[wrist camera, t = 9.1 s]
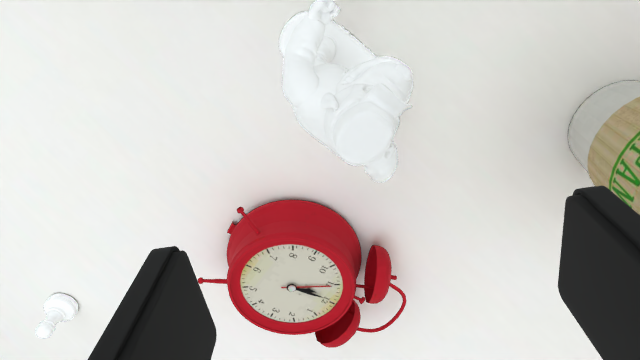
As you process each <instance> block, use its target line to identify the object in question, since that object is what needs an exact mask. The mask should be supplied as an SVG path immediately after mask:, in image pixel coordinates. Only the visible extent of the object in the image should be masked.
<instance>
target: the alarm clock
mask: <svg viewBox="0 0 640 360" xmlns="http://www.w3.org/2000/svg"><path fill="white" fill-rule="evenodd" d="M243 211H244V209H243V207H239V208H238V209H237V212H238V213H241V214H242V215H243V218H242V219H241V220H240V221H239V223H238V224H237V225H234V224H233V222H232V224H231V226H230V228H229V229H228V232H227V233H229V234H231V236H230V239H229V243H228V247H227V261H228V266H229V270H228V274H227V279H203V278H199V279H198V283H199V284H202V283H203V282H209V283H223V284H227V285H228V291H229V296H230V298H231V301H232V303H233V304H234V306H235V307H236V309H237V310H238V311H239V313H240V314H241V315H242V316H243V317H245V318H246V319H247V320H248V321H250V322H251V323H253V324H255V325H256V326H258V327H260V328H263V329H265V330H268V331H271V332H275V333H280V334H289V335H298V334H307V333H312V332H315V335H316V338H317V341H319V342H320V343H321V344H322V345H324V346H326V347H338V346H341V345H343V344H344V343H346V342H347V341H348V340H349V339H350V338H351V337H352V336H353V335H354V334H355V332H356V330H357V331H362V332H378V331H381V330H383V329H385V328H387V327H388V326H389V325H391V324H392V323H393V322H394V321H395V320H396V319H397V318H398V317H399V315H400V314H401V313H402V311H403V309H404V307H405V305H406V296H405V294H404V293H403V291H402V290H401V289H399V288H398V287H396V286H395V285H393V284H392V283H390V279H394V280H396V279H397V276H393V275H391V261H390V257H389V254H388V252H387V251H386V250H385V249H384V248H383V247H380V246H376V245H373V246H372V247H371V249H370V251H369V255H368V258H367V263H366V269H365V278H364V285H358V284H356V278H357V276H358V273H359V270H360V266H361V248H360V244H359V240H358V238H357V236H356V233H355V232H354V230H353V229H352V227H351V226H350V225H349V224H348V222H347V221H346V220H345V219H344V218H342V217H341V216H340V215H339V214H337V213H336V212H334V211H333V210H331V209H329V208H327V207H325V206H322V205H320V204H317V203H313V202H309V201H302V200H281V201H276V202H271V203H268V204H265V205H262V206H260V207H258V208H256V209H254V210H252V211H251V212H249V213H248V214H247V215H246V214H245V213H244V212H243ZM389 286H390V287H392V288H393V289H395V290H396V291H398V292H399V293H400V294H401V295H402V298H403V303H402V306H401V308H400V310H399V311H398V312H397V314H396V315H395V316H394V317H393V318H392V319H391V320H390V321H389V322H388V323H387V324H385V325H383V326H381V327H379V328H375V329H364V328H358V326H359V323H360V310H359V307H358V305H357V303H356V302H355V301H354V300H353V298H354V299H357V300H359V302H360V303H361V304H362V303H363V302H364V301H365V298H366V302H367V303H372V304H374V303H378V302H381V301H382V300H383V299H384V298H385V296H386V294H387V292H388V289H389ZM356 287H359V288H364V290H365V298H364V297H362V298H359V297H357V296H354V295H355V291H356Z"/></svg>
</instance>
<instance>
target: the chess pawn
mask: <svg viewBox="0 0 640 360" xmlns="http://www.w3.org/2000/svg"><path fill="white" fill-rule="evenodd" d="M43 308H44V311H45V313H46V319H45V320H43V321H41V322H40V323H39V325H38V326H37V327H36V329H35V334H36V336H37V337H39V338H41V339H45V338H48V337H50V336H51V335H52V333H53V331H55V329H56V326H55V325H56V324H57V323H59V322H66V321H69V320H71V319H72V318H73V317H74V316H75V315H76V313H77V312H78V309H79V307H78V304H77V302H76V301H75V300H74V299H73V298H72V297H70V296H68V295H66V294H53V295H51V296H50V297H49V298H48V300H47V301H46V302H45V304H44V307H43Z"/></svg>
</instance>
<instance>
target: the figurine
mask: <svg viewBox="0 0 640 360" xmlns="http://www.w3.org/2000/svg"><path fill="white" fill-rule="evenodd" d="M340 10H341V8H340V7H339V6H337V5H336V2H335V1H333V0H316V1H315V3H312V4H311V6H310V8H309V11H305V12H300V13H298V14H296V15H294V16H293V17H292V18H291V19H290V20H289V21H288V22H287V24H286V25H285V26H284V28H283V30H282V32H281V34H280V37H279V49H280V52H281V55H282V57H283V69H282V72H283V74H282V89H283V93H284V95H285V98H286V99H287V101H288V102H289V103H290V104H292V108H293V110H294V113H295V116H296V119H297V121H298V122H299V124H300V125H301V127H302V128H303V129H304V130H306V131H307V132H308V133H309V134H310V135H311V136H312V137H314V138H315V139H316V140H318V141H319V142H320V143H322V144H323V145H324V146H326V147H327V148H328V149H329V150H330V151H331V152H332V153H334V154H335V155H337V156H339V157H340V158H341V159H342V160H343V161H344V162H346V163H347V164H349V165H352V166H362V165H364V171H365V172H366V174H367V175H368V176H369V177H370V178H371V179H372V180H373V181H375V182H377V183H383V182H386V181H387V180H389V179H390V178H391V177H392V176H393V174H394V172H395V170H396V168H397V164H398V152H397V147H396V145H395V143H394V141H393V138H394V135H395V133H396V131H397V129H398V126H399V121H400V118H399V116H400V115H402V113H403V112H404V111H405V110H407V109H410V108H412V105H411V104H408V102H409V99H410V96H411V93H412V89H413V73H412V70H411V68H410V67H409V66H408V65H406V64H405V63H403V62H402V61H400V60H399V59H397V58H394V57H390V56H380V57H378V56H376V55H375V54H374V53H371V50H369V49H368V48H366V46H365V45H364V44H363V43H362V44H361V42H360V41H359V40H358V39H356V37H354V36H353V35H351V34H350V32H349V31H348V30H345V28H344V27H343V26H340V25H338V24H337V23H336V22H334V21H333V20H332V19H333V17H335V16H337V15H338V14H339V12H340Z"/></svg>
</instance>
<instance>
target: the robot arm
mask: <svg viewBox="0 0 640 360" xmlns="http://www.w3.org/2000/svg"><path fill="white" fill-rule="evenodd" d="M558 288H559V293H560V296H561V298H562V300H563V301H564V303H565V304H566V306H567V307H568V309H569V310H570V312H571V313H572V315H573V316H574V317H575V319H576V320H577V322H578V323H579V325H580V326H581V328H582V329H583V331H584V332H585V334H586V335H587V337H588V338H589V340H590V341H591V343H592V344H593V345H594V347H595V348H596V350H597V351H598V353H599V354H600V356H601V357H602V359H603V360H640V215H639V214H638V213H637V212H635V211H634V210H633V209H632V208H631V207H629V206H628V205H627V204H626V203H625V202H624V201H622V200H621V199H620V198H619V197H618V196H616V195H615V194H614V193H613V192H612V191H610V190H609V189H608V188H607V187H605V186H594V187H587V188H580V189H576V190H575V191H574V193H573V196H569V197H567V199H566V203H565V214H564V225H563V236H562V247H561V257H560V268H559V279H558ZM215 342H216V328H215V325H214V322H213V320H212V317H211V315H210V312H209V309H208V307H207V304H206V302H205V299H204V297H203V294H202V291H201V289H200V286H199V284H198V281H197V279H196V276H195V274H194V271H193V268H192V266H191V263H190V261H189V258H188V256H187V254H186V252H185V251H180V250H179V249H178V248H177V247H175V246H173V247H166V248H159V249H153V250H152V251H151V252H150V254H149V255H148V257H147V259H146V260H145V262H144V264H143V266H142V267H141V269H140V271H139V272H138V274H137V276H136V278H135V279H134V281H133V283H132V284H131V286H130V288H129V290H128V291H127V293H126V295H125V296H124V298H123V300H122V302H121V303H120V305H119V307H118V309H117V310H116V312H115V314H114V315H113V317H112V319H111V321H110V322H109V324H108V326H107V327H106V329H105V331H104V333H103V334H102V336H101V338H100V339H99V341H98V343H97V345H96V346H95V348H94V350H93V351H92V353H91V355H90V357H89V358H88V360H211V356H212V353H213V349H214V346H215Z"/></svg>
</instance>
